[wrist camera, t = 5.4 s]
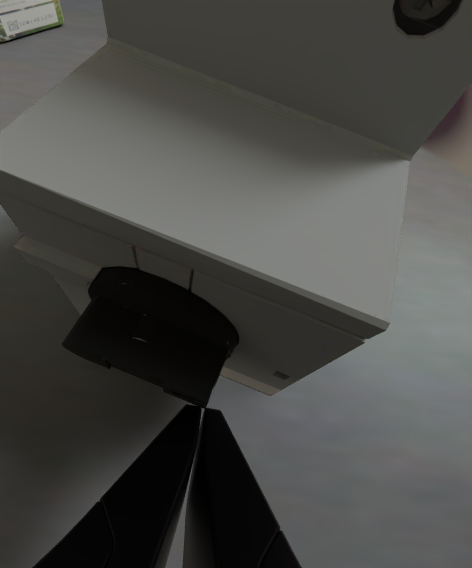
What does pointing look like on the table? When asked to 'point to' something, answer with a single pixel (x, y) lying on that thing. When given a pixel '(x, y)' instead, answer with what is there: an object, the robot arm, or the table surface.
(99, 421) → the table surface
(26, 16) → the syrup box
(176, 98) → the circuit breaker
